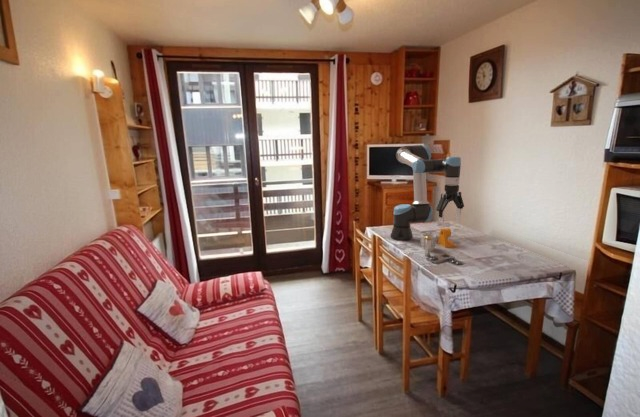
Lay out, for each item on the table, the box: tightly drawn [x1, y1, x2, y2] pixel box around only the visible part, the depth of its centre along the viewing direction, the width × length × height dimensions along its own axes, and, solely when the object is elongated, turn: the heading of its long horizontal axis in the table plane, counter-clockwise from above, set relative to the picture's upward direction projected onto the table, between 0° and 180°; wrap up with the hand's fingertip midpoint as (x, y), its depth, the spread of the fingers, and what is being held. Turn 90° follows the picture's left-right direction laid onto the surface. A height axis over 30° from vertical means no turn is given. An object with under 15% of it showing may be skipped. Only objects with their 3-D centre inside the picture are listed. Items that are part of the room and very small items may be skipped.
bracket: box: [437, 228, 457, 248], centre depth 206 cm, size 11×7×12 cm, turn 3°
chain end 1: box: [426, 252, 456, 265], centre depth 182 cm, size 15×7×2 cm, turn 115°
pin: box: [424, 236, 432, 258], centre depth 188 cm, size 4×4×13 cm
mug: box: [420, 233, 437, 252], centre depth 201 cm, size 11×8×10 cm
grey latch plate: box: [444, 256, 467, 267], centre depth 181 cm, size 15×7×2 cm, turn 25°
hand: (449, 220), depth 185 cm, fingers open, 13 cm apart
